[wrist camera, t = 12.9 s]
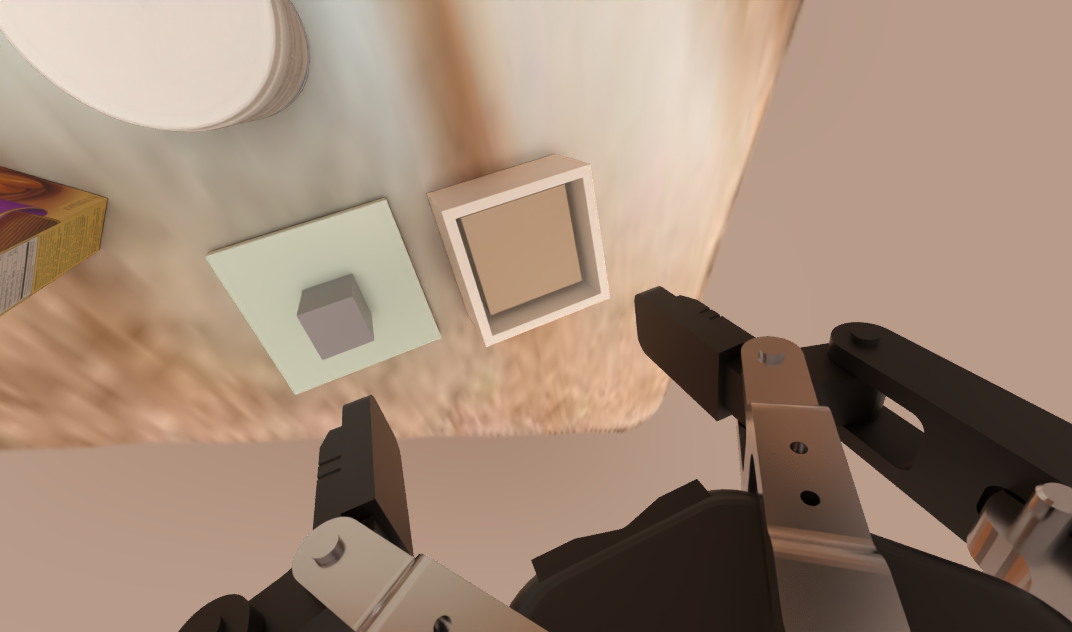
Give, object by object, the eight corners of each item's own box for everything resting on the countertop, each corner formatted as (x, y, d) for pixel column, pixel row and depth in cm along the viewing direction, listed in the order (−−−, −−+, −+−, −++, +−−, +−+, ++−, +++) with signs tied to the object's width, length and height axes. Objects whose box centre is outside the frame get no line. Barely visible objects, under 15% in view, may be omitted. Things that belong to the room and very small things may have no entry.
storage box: (426, 193, 38) (441, 211, 32) (554, 154, 40) (590, 164, 34) (467, 313, 44) (486, 347, 38) (576, 272, 46) (610, 297, 40)
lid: (210, 249, 34) (183, 280, 28) (384, 195, 37) (391, 213, 31) (297, 383, 41) (289, 430, 35) (438, 329, 43) (451, 364, 38)
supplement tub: (316, -13, 30) (295, -91, 17) (304, 136, 33) (279, 160, 20) (127, -83, 25) (-79, -252, 13) (135, 95, 29) (-24, 95, 16)
